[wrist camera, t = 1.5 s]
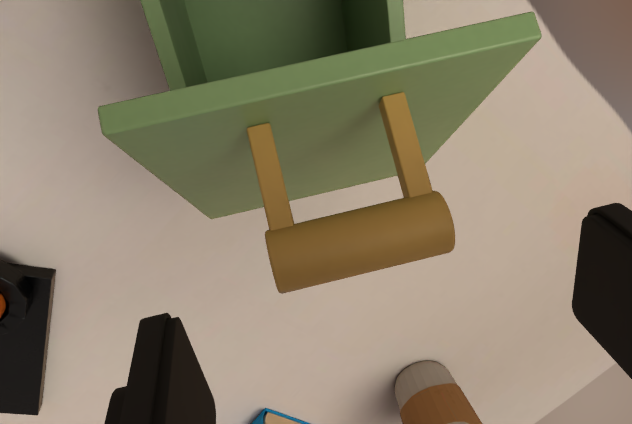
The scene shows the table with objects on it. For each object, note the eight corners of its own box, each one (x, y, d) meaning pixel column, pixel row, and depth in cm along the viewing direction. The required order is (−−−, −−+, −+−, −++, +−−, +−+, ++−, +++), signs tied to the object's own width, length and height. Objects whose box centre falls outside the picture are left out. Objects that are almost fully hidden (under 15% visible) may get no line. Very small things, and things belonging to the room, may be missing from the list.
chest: (148, -78, 30) (113, -79, 20) (335, -116, 31) (393, -134, 21) (211, 130, 37) (208, 208, 27) (362, 96, 38) (415, 160, 28)
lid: (95, 105, 12) (136, 328, 12) (534, 9, 13) (603, 213, 12) (207, 205, 27) (229, 309, 26) (415, 156, 27) (444, 256, 27)
